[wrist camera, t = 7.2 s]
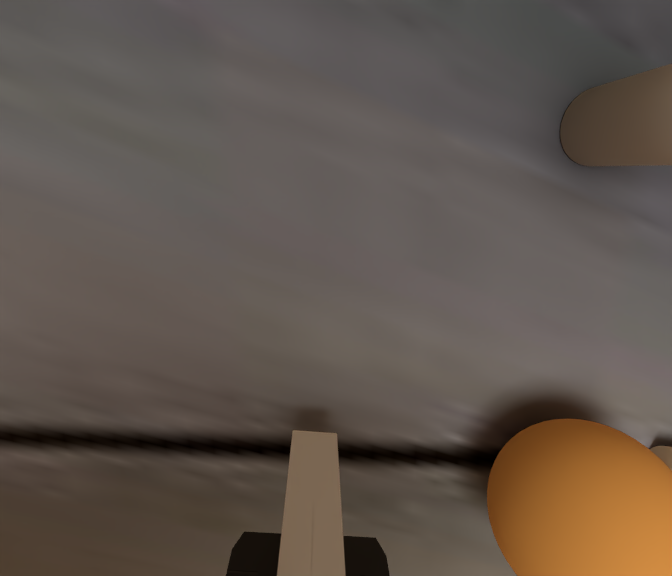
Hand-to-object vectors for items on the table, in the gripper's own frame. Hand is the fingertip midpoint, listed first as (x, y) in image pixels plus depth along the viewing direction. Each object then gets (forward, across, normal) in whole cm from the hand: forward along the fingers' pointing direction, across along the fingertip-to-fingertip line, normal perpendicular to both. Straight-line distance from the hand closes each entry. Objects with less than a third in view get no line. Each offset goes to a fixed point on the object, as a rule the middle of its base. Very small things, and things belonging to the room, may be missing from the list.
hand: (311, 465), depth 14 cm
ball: (-1, +9, 0) cm, 9 cm away
